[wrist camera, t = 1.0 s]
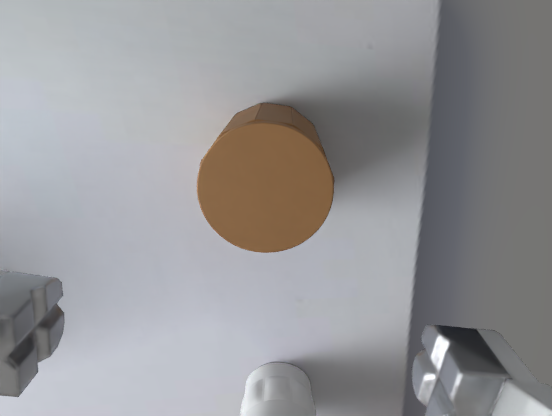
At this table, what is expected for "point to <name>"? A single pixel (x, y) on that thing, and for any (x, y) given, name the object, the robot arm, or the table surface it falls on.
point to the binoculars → (278, 392)
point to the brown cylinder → (266, 180)
